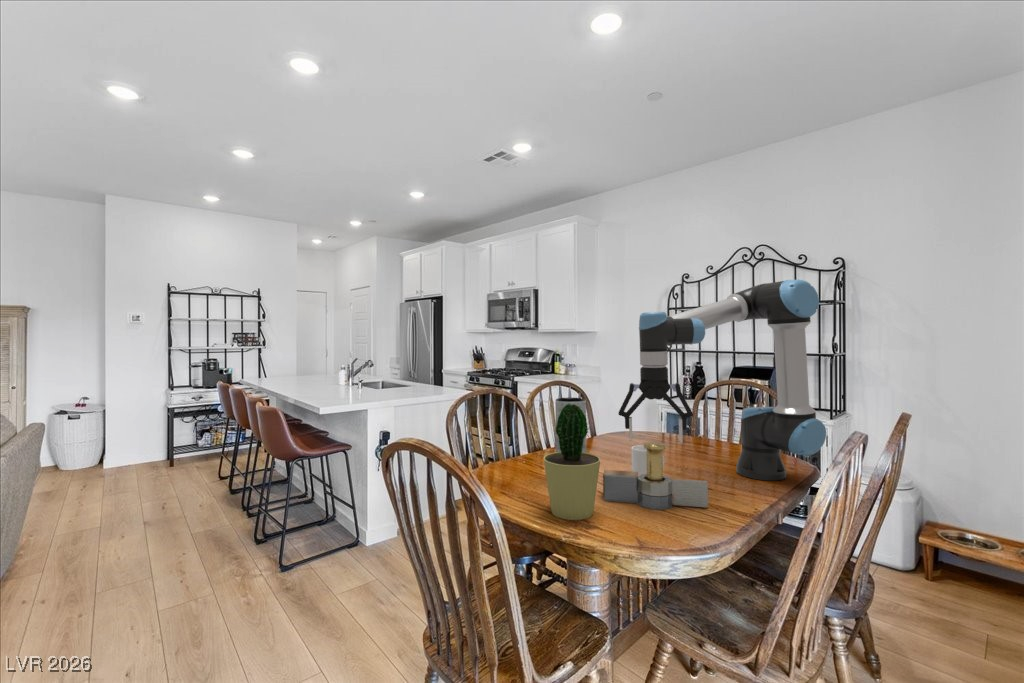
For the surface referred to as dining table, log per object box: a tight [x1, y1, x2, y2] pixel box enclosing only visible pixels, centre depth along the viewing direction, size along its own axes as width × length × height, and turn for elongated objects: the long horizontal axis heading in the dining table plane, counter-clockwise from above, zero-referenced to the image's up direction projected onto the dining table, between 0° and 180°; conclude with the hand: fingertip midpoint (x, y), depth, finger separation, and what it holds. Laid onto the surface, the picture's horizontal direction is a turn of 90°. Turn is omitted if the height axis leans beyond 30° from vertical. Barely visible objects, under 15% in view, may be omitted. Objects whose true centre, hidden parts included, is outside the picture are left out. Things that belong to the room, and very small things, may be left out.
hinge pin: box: [643, 441, 666, 482], centre depth 136 cm, size 6×6×17 cm
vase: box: [554, 397, 587, 453], centre depth 158 cm, size 10×10×27 cm
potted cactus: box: [543, 403, 601, 521], centre depth 130 cm, size 15×15×30 cm
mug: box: [631, 444, 665, 476], centre depth 160 cm, size 12×8×10 cm
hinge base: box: [604, 475, 673, 511], centre depth 137 cm, size 19×9×7 cm, turn 75°
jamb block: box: [602, 469, 638, 500], centre depth 141 cm, size 10×5×7 cm, turn 75°
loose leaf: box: [638, 474, 709, 509], centre depth 135 cm, size 19×9×7 cm, turn 75°
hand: (655, 441), depth 136 cm, fingers open, 13 cm apart
